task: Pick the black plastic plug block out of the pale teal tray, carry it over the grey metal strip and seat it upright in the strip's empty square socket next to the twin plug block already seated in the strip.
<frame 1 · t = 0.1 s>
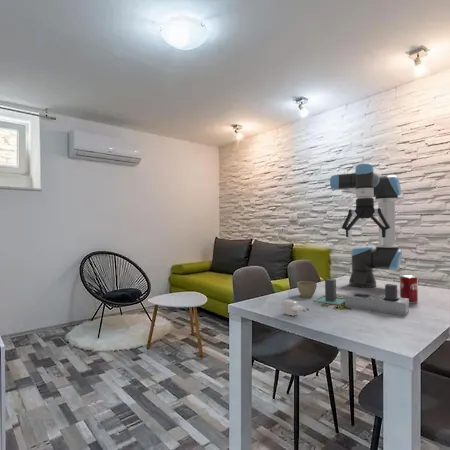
hand: (365, 244, 145), 28 cm above the table, fingers open, 13 cm apart
white lumpy piece: (295, 316, 131), on the table
tray: (330, 300, 155), on the table
flower pot: (307, 297, 164), on the table
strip: (376, 308, 140), on the table
soda can: (408, 301, 151), on the table
plug: (330, 300, 155), resting on tray
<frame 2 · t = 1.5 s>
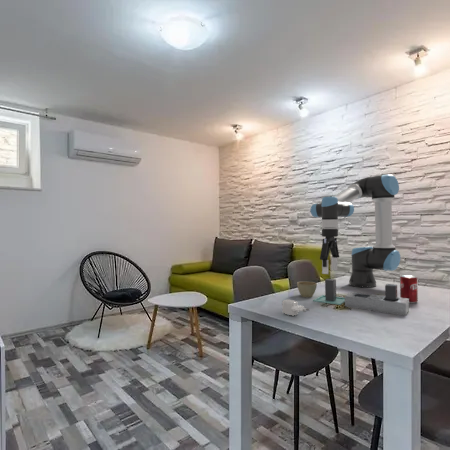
hand: (330, 272, 155), 14 cm above the table, fingers open, 13 cm apart
nothing on the table moved.
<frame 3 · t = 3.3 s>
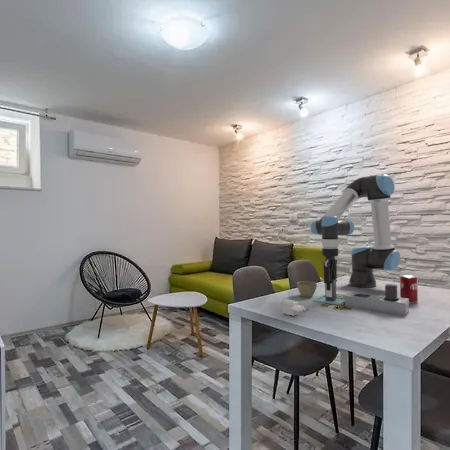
hand: (330, 295, 155), 3 cm above the table, fingers closed on plug, 4 cm apart
plug: (330, 300, 155), resting on tray, touching gripper
everything else where it was.
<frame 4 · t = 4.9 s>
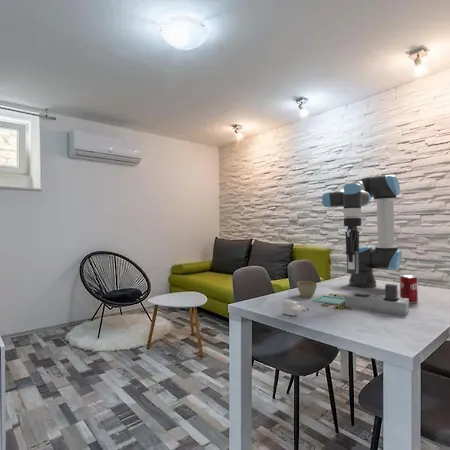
hand: (352, 268, 146), 17 cm above the table, fingers closed on plug, 4 cm apart
plug: (352, 273, 146), point 15 cm above the table, touching gripper
everything else where it was.
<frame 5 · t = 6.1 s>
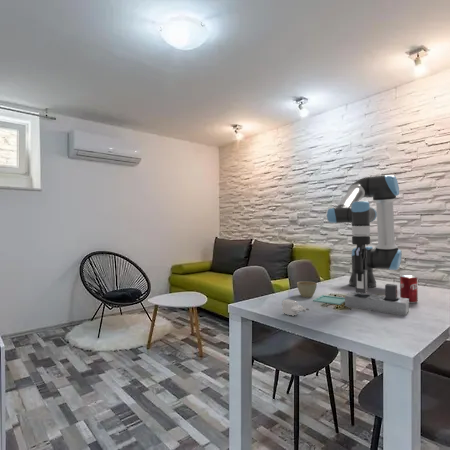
hand: (361, 287, 143), 9 cm above the table, fingers closed on plug, 4 cm apart
plug: (361, 292, 143), point 7 cm above the table, touching gripper
everything else where it was.
when the fingers open (5 cm above the table, at t = 7.0 s): plug drops 2 cm, resting on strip.
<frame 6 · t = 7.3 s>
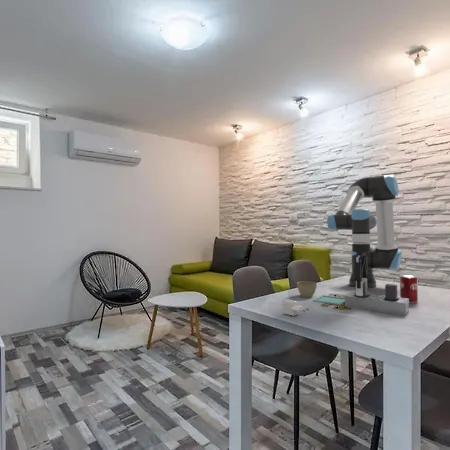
hand: (361, 293, 143), 6 cm above the table, fingers open, 7 cm apart
plug: (361, 304, 143), point 1 cm above the table, touching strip
everything else where it was.
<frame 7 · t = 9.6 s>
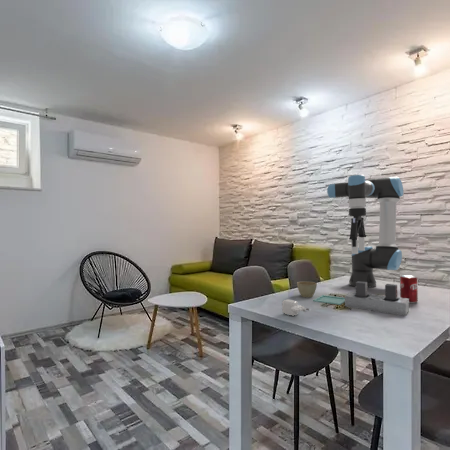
hand: (358, 252, 152), 24 cm above the table, fingers open, 13 cm apart
nothing on the table moved.
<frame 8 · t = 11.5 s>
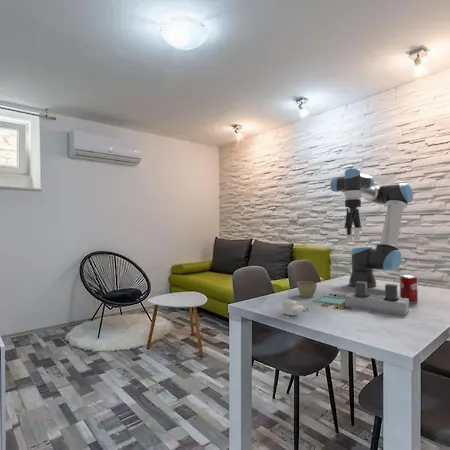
hand: (353, 240, 162), 29 cm above the table, fingers open, 13 cm apart
nothing on the table moved.
at the end: plug 0.0 cm from the target spot on the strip, point 1.0 cm above the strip's base; plug tilted 0°; the gripper is holding nothing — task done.
